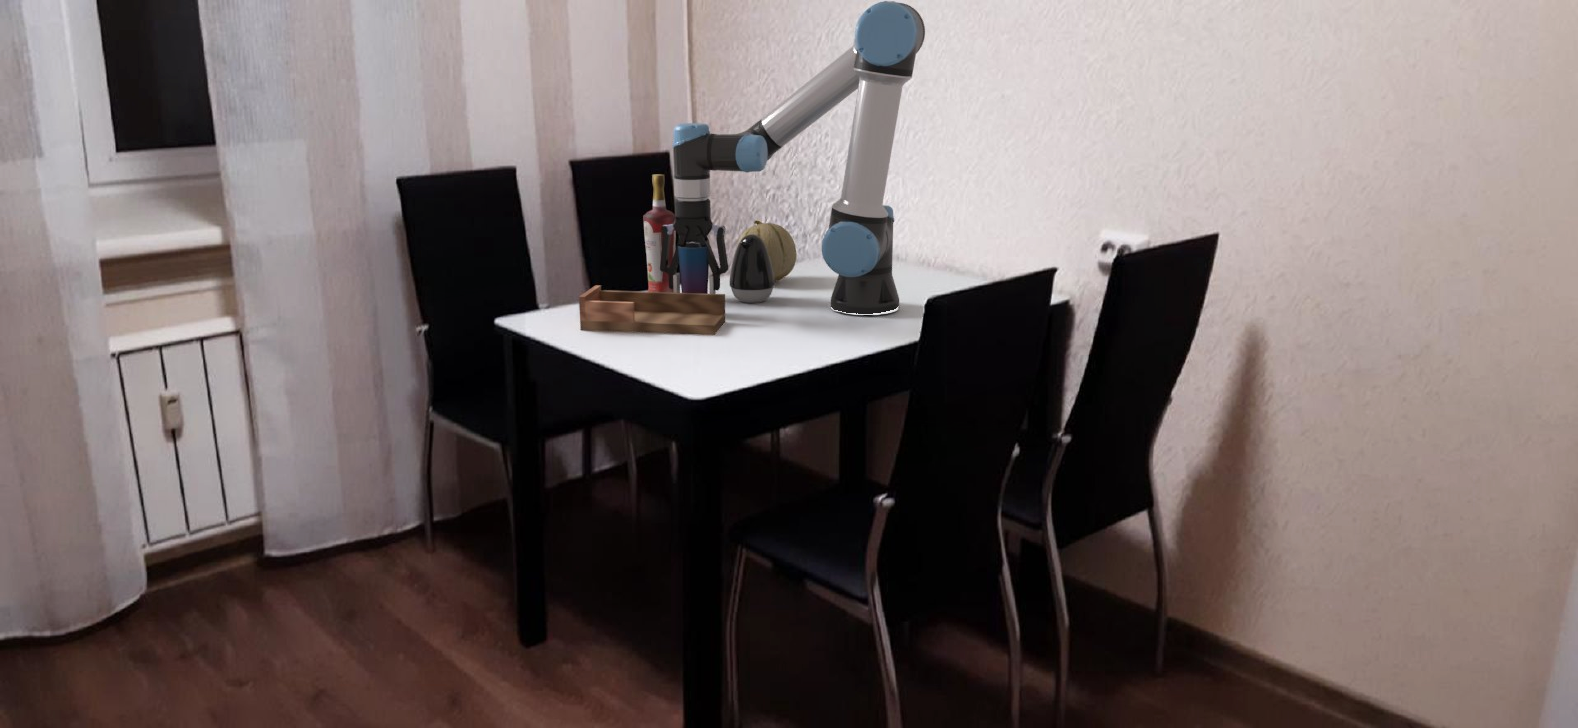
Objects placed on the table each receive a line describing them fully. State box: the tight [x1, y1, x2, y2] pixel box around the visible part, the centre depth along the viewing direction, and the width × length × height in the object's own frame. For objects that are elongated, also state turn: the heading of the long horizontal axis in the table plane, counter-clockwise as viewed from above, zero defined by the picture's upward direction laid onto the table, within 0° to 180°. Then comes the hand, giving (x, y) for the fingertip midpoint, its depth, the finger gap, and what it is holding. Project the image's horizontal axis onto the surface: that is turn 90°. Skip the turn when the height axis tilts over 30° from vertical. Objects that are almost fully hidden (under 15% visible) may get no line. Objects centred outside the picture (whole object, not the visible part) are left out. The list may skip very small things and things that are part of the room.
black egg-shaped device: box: [729, 234, 775, 304], centre depth 260 cm, size 10×10×15 cm
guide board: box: [578, 284, 726, 336], centre depth 239 cm, size 28×11×7 cm, turn 82°
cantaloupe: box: [736, 220, 798, 283], centre depth 279 cm, size 15×15×15 cm
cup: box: [678, 242, 711, 294], centre depth 248 cm, size 7×7×15 cm
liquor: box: [642, 173, 677, 293], centre depth 261 cm, size 7×7×28 cm
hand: (694, 304), depth 250 cm, fingers open, 7 cm apart
